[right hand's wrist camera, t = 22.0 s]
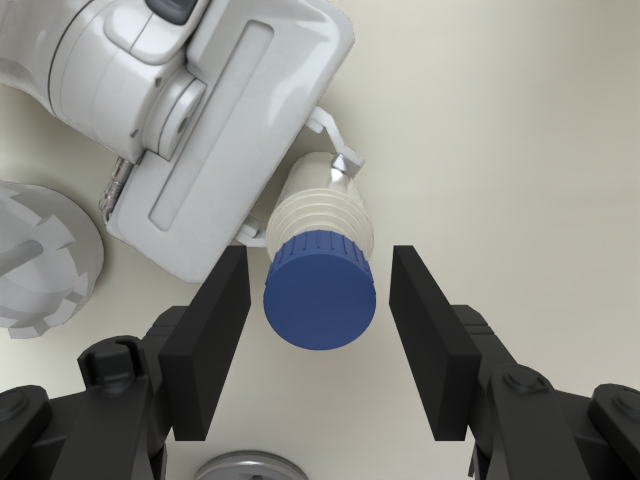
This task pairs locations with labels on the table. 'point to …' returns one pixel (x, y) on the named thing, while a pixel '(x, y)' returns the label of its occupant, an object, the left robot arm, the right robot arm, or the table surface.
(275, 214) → the bottle
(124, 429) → the right robot arm
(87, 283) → the flag stand
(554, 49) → the table surface
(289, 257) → the cap
